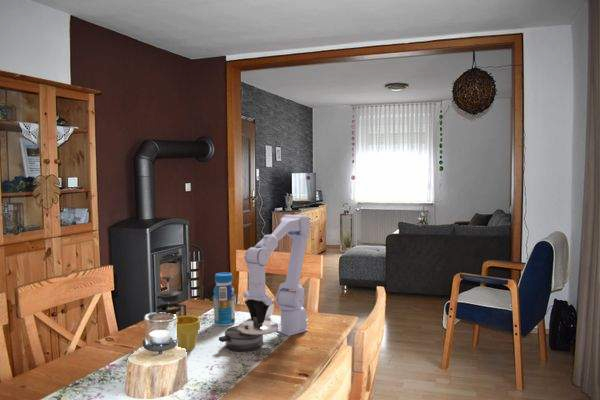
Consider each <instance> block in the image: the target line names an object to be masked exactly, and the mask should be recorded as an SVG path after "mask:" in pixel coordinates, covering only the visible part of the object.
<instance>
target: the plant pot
mask: <svg viewBox="0 0 600 400" xmlns="http://www.w3.org/2000/svg"><path fill="white" fill-rule="evenodd" d="M176 317H177V319H178V322H177V339H178V347H181V348H185V349H186V350H187V351H190V350H191V351H192V350H194V349H195V348H196V343H197V338H198V332H199V330H200V328H201V318H200V317H199V316H195V315H186V316H183V315H181V316H180V317H179V316H176Z"/></svg>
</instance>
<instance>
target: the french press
mask: <svg viewBox="0 0 600 400" xmlns="http://www.w3.org/2000/svg"><path fill="white" fill-rule="evenodd" d="M161 279H162V280H165V281H166V283H167V290H163V291H158V292H157V293H155V296H156V298H157V299H160V300H161V301H163V302H165V303H163V304H159V305H157V306H156V307H155V313H159V312H166V313H170V314H171V315H172V314H176V315H177V313H178V317H180V316H187V305H186V304H185V303H173V302H176V301H178V300H180V298H181V294H182V292H181V291H179V290H173V289H172V290H170V289H169V288H170V287H169V283H170V280H172V279H174V276H172V275H166V276H162V277H161ZM170 308H173V309H170ZM182 309H183V310H182ZM182 311H183V315H182ZM159 314H160V313H159Z"/></svg>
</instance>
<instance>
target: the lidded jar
mask: <svg viewBox="0 0 600 400" xmlns="http://www.w3.org/2000/svg"><path fill="white" fill-rule="evenodd" d="M268 297H269V296H268ZM269 298H271V299H272V305H270V306H269V308H268V310H267V312H266V315H265V320H267V321H268V320H269V319H270V317H271V316H272V315H273V313H274V309H275V299H274V297H269Z"/></svg>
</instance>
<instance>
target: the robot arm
mask: <svg viewBox="0 0 600 400" xmlns="http://www.w3.org/2000/svg"><path fill="white" fill-rule="evenodd" d="M279 222H280V223H279V224H278V226H276V228H275V229H274V231H273V232H271V234H265V235H263V237H262V238H261V239H260V240H259V242H257V243H256V244H255V245H254V247H253V246H251V247H249V248H248V249H247V250H246V252H245V253H244V254H245V255H244V257H243V258H244V261H245V263H246V268H247V270H248V290H246V291H243V298H246V300H244V304H245V305H246V307H247V309H248V312H249V315H250V319H251V320H250V321H253V316H254V315H257V321H258V323H259V324H260V323H264V320H265V315H266V312H267V310H268V308H269V306H270V305H272V299H271V298H272V297H271V298H269V296H268V295H267V294H266V291H267V290H266V285H267V284H266V264H268V262H269V259H270V256H271V254H272V253H273V252H274V251H275V249H277V248H278V246H279V241H280V240H282V239H283V238H284V237H285V236H286V235H287V236H288V237H290V239H291V240H292V244H291V250H290V256H289V260H288V261H289V262H288V267H287V272H286V276H285V277H286V278H285V281H284V282H282V283H281V284H279V286H278V290H277V292H276V295H275V303H276V305H277V306H278V309H280V328H278V330H277V331H276V332H278V333H279V334H282V335H285V336H288V337H289V336H294V335H297V334H300V333H305V332H308V331H309V329H308V327H307V311H306V309H305V307H303V306H304V305H305V300H306V299H305V288H304V287H303V286H302V285H301V284H300V281H301V277H302V276H301V275H302V271H303V264H304V258H305V253H306V247H307V243H308V239H309V236H310V231H311V225H312V223H311V220H310V218H309V216H308V215H306V214H303V215H299V214H298V215H297V214H288V213H287V214H284V215H283V216H282V217H281V218H280V221H279Z"/></svg>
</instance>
